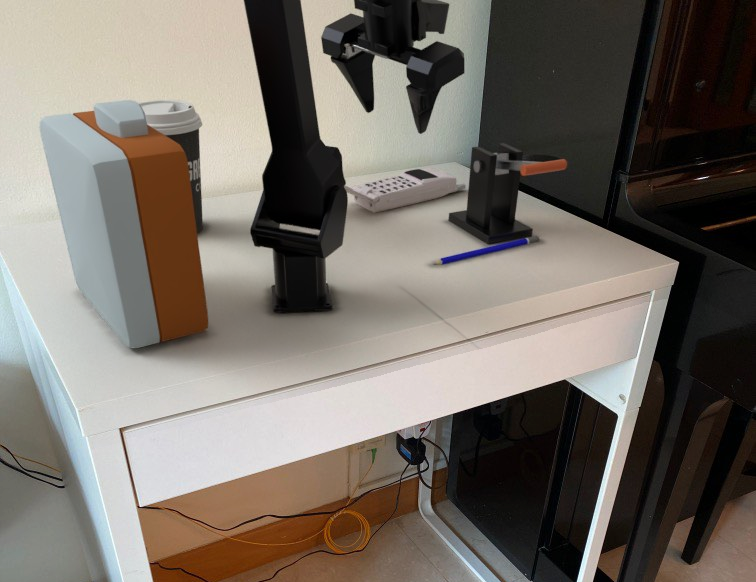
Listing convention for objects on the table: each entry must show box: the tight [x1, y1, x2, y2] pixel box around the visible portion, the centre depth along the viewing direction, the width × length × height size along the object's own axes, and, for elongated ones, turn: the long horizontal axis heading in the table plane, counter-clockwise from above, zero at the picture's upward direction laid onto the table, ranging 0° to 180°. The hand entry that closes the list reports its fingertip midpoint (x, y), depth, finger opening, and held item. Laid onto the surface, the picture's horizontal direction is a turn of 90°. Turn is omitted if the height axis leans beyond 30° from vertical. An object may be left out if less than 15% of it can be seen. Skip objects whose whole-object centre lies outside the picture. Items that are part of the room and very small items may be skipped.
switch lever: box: [492, 152, 568, 177], centre depth 98 cm, size 12×6×2 cm, turn 27°
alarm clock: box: [39, 99, 209, 349], centre depth 79 cm, size 18×9×21 cm, turn 33°
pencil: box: [433, 235, 540, 266], centre depth 100 cm, size 17×1×1 cm, turn 122°
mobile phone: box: [344, 167, 467, 213], centre depth 113 cm, size 6×6×25 cm
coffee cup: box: [137, 99, 204, 235], centre depth 101 cm, size 10×10×15 cm
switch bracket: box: [448, 142, 534, 246], centre depth 104 cm, size 10×7×10 cm
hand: (395, 121), depth 100 cm, fingers open, 9 cm apart
